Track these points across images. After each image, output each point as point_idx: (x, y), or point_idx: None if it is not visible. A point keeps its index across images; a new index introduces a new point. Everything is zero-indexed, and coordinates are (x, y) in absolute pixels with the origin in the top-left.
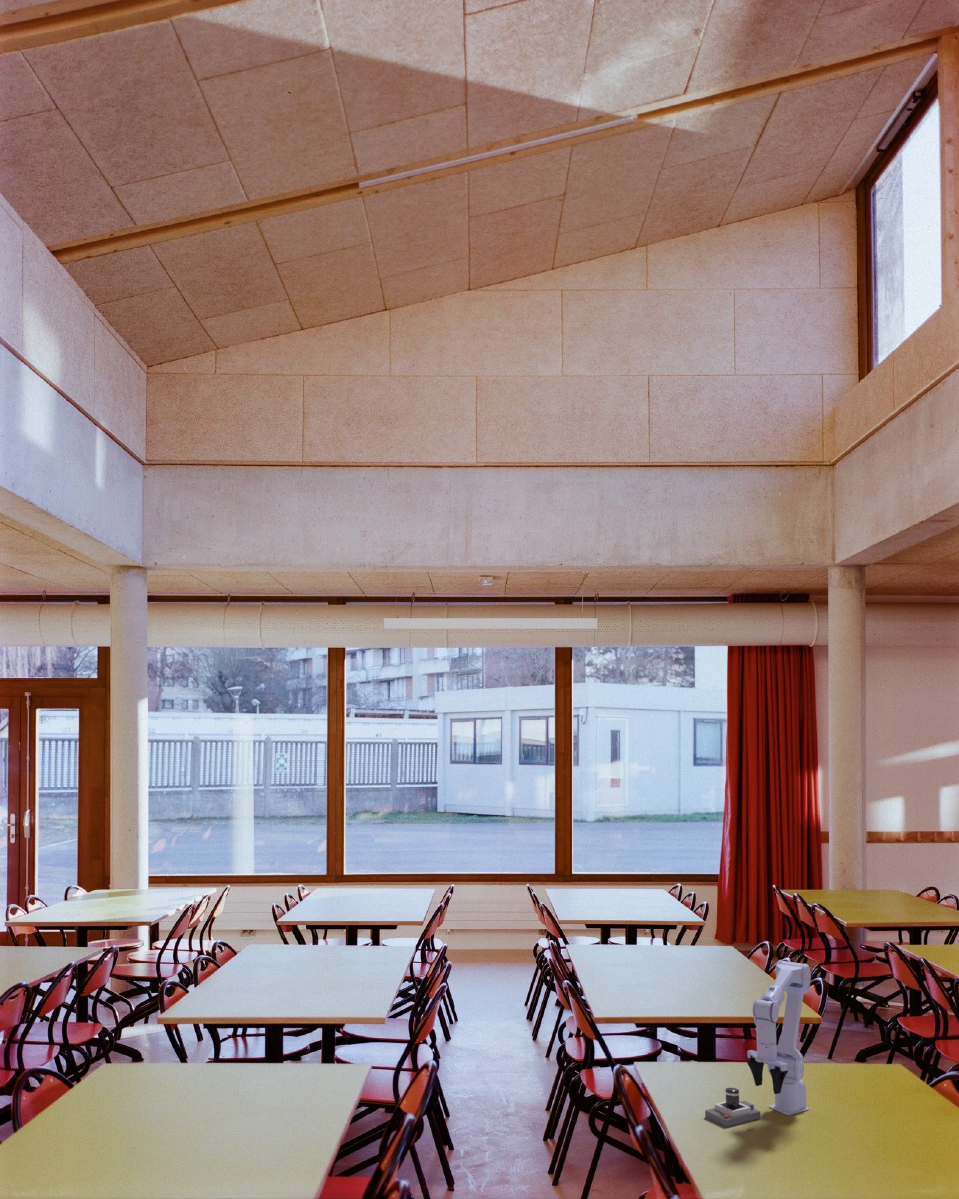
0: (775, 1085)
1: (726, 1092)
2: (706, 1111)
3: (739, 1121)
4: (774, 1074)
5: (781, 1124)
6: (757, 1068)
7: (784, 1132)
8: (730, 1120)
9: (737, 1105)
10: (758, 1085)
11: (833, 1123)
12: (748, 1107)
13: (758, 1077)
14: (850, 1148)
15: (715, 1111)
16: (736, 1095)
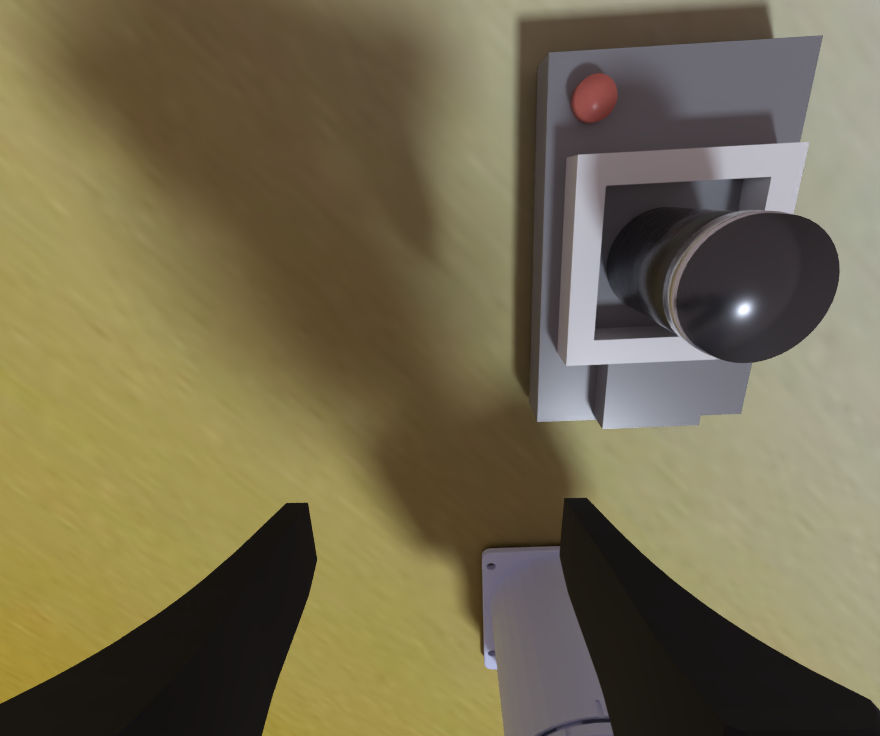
0: (222, 566)
1: (779, 211)
2: (802, 38)
3: (537, 216)
4: (28, 705)
5: (411, 448)
6: (642, 707)
7: (308, 383)
8: (545, 110)
9: (627, 272)
10: (564, 519)
11: (314, 645)
12: (574, 351)
13: (590, 592)
14: (22, 520)
15: (741, 110)
16: (667, 278)
